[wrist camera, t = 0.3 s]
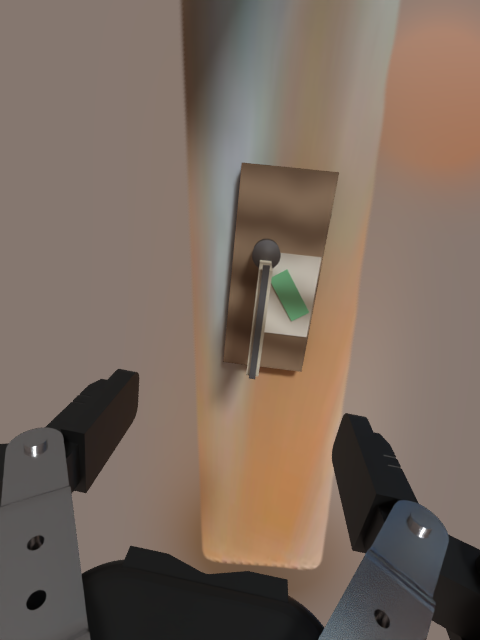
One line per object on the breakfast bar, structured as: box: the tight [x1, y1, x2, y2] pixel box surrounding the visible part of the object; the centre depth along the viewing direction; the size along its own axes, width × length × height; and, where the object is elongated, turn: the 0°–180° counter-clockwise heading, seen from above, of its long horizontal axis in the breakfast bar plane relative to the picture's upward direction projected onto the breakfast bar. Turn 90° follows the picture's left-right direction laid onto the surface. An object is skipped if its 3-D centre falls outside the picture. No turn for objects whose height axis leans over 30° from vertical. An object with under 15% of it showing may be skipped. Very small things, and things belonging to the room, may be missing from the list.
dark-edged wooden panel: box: [246, 239, 281, 379], centre depth 33 cm, size 12×3×10 cm, turn 174°
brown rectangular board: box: [223, 163, 339, 372], centre depth 38 cm, size 24×10×2 cm, turn 174°
